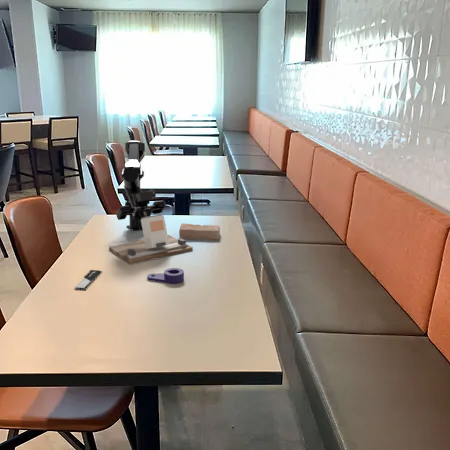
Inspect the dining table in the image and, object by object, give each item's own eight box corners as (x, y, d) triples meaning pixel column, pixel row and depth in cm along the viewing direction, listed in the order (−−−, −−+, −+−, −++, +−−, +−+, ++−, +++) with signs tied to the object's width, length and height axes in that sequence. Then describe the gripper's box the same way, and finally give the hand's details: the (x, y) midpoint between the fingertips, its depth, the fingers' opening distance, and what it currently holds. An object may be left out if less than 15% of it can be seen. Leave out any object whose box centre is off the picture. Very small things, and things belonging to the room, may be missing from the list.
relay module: (146, 248, 174) (140, 218, 174) (162, 245, 178) (157, 215, 178) (153, 247, 169) (147, 216, 169) (170, 244, 173) (164, 213, 173)
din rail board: (108, 249, 178) (108, 240, 177) (168, 237, 193) (168, 229, 192) (130, 264, 164) (129, 254, 163) (192, 250, 179) (192, 241, 178)
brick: (219, 234, 200) (219, 223, 199) (219, 240, 192) (219, 229, 191) (180, 233, 200) (180, 223, 198) (178, 240, 192) (178, 229, 190)
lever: (185, 277, 156) (185, 268, 155) (181, 285, 150) (181, 276, 149) (149, 275, 157) (149, 266, 156) (144, 282, 151) (144, 273, 150)
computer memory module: (85, 288, 143) (72, 287, 144) (85, 291, 144) (73, 290, 144) (102, 270, 158) (91, 269, 158) (102, 273, 158) (91, 272, 158)
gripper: (118, 185, 171) (132, 221, 165) (163, 180, 181) (178, 214, 176) (110, 201, 179) (124, 237, 174) (153, 195, 190) (168, 228, 184)
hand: (149, 228), depth 177 cm, fingers closed
